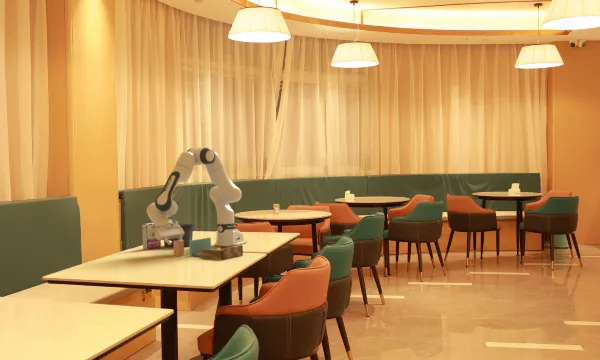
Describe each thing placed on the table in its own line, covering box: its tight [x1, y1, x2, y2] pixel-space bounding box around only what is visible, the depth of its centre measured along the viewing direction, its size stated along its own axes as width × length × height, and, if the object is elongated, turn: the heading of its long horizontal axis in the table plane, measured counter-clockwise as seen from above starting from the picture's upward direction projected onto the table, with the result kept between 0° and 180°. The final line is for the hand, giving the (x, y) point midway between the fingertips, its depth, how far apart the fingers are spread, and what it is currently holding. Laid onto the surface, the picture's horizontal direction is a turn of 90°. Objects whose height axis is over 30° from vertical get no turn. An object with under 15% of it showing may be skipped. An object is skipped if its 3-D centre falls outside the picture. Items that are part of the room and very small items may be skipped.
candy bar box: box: [141, 222, 162, 251], centre depth 417 cm, size 11×5×16 cm, turn 143°
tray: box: [188, 237, 212, 258], centre depth 382 cm, size 17×16×9 cm
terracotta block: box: [173, 240, 185, 257], centre depth 384 cm, size 4×4×9 cm
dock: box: [200, 244, 244, 261], centre depth 377 cm, size 18×16×6 cm
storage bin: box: [163, 222, 196, 248], centre depth 428 cm, size 21×16×14 cm
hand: (176, 243), depth 385 cm, fingers open, 8 cm apart
